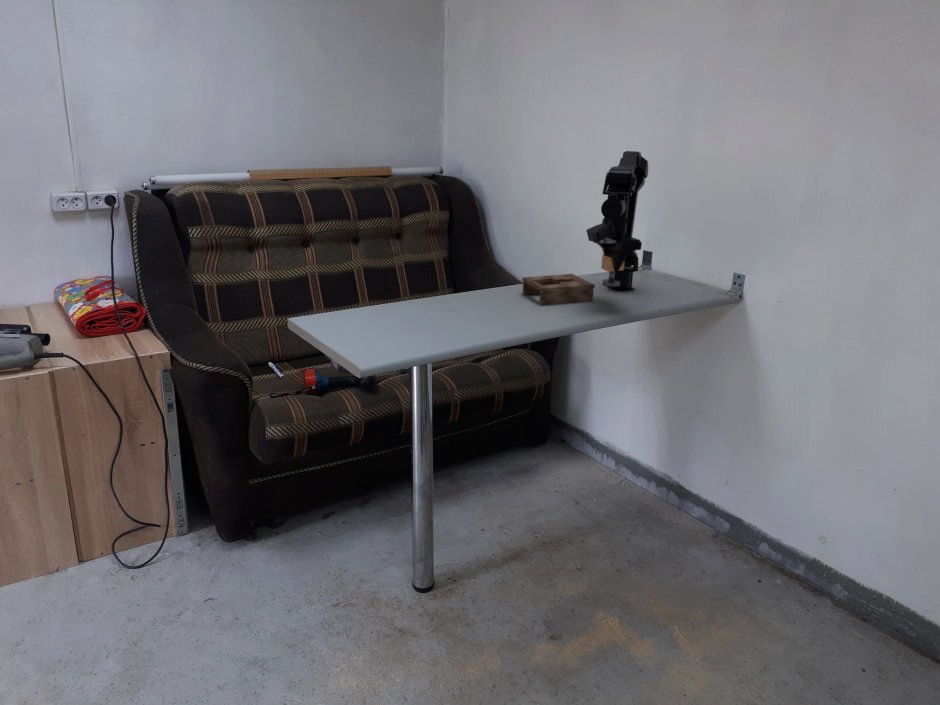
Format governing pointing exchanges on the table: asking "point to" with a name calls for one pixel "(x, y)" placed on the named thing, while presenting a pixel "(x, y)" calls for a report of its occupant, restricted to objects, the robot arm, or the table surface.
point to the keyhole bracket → (559, 288)
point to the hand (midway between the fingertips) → (612, 269)
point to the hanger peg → (610, 270)
